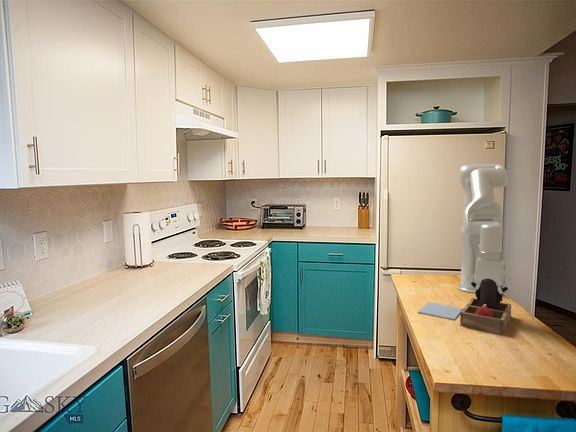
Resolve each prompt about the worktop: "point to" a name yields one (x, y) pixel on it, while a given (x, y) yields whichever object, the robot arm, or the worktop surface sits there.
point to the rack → (484, 322)
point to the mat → (441, 310)
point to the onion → (484, 311)
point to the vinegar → (488, 294)
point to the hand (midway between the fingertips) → (488, 300)
